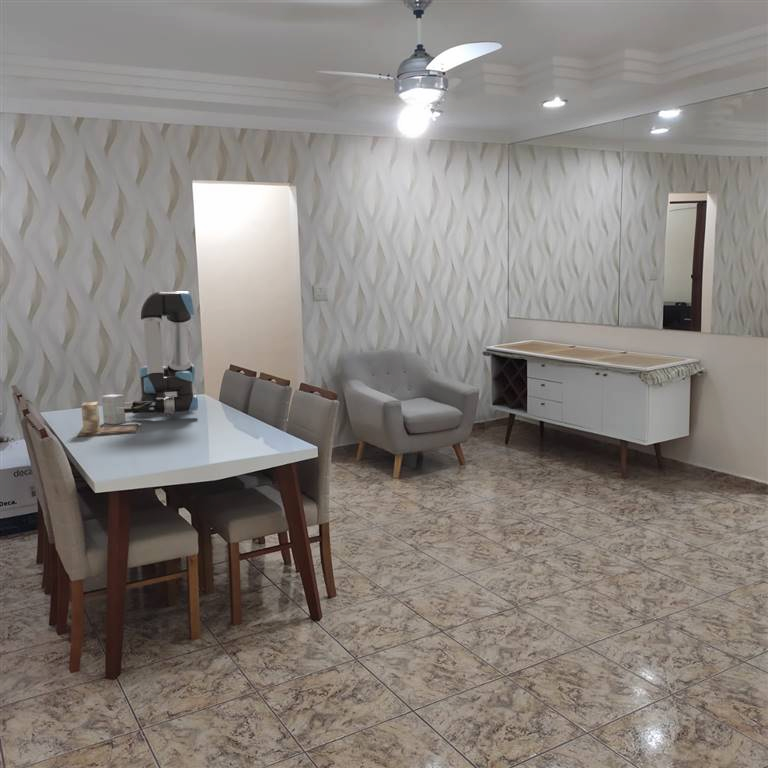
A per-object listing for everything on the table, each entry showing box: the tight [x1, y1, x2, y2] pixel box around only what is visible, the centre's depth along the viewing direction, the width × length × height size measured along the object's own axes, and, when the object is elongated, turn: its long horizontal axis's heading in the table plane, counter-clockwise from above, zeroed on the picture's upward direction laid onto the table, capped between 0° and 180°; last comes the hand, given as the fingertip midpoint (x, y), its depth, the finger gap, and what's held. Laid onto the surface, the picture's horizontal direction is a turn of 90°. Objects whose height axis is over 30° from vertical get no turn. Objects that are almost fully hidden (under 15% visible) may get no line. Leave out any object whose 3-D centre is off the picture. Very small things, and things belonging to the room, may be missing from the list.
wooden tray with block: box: [77, 401, 139, 438], centre depth 332 cm, size 24×16×13 cm, turn 105°
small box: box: [101, 394, 127, 425], centre depth 352 cm, size 8×6×13 cm
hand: (117, 408), depth 351 cm, fingers open, 13 cm apart
